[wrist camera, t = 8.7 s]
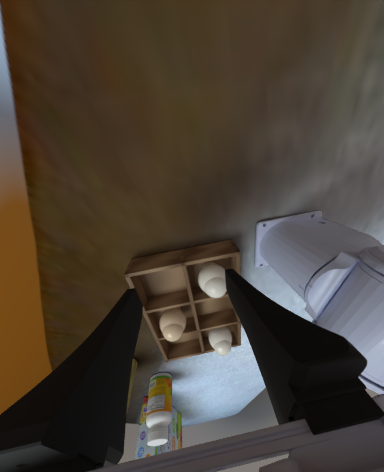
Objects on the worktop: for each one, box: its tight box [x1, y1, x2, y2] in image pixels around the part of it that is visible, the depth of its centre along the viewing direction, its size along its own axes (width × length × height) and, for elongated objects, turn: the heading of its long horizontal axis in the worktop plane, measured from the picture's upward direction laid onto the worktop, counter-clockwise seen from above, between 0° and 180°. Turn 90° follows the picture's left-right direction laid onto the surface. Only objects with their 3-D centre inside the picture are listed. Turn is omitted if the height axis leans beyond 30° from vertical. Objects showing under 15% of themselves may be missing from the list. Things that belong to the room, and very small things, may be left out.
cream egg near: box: [198, 261, 227, 298], centre depth 20 cm, size 4×4×5 cm
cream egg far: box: [209, 326, 232, 356], centre depth 26 cm, size 4×4×5 cm
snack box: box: [134, 396, 182, 460], centre depth 38 cm, size 21×6×15 cm, turn 15°
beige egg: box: [159, 307, 186, 342], centre depth 23 cm, size 4×4×5 cm
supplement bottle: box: [146, 372, 172, 446], centre depth 32 cm, size 5×5×10 cm
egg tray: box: [124, 240, 241, 362], centre depth 24 cm, size 15×22×3 cm
